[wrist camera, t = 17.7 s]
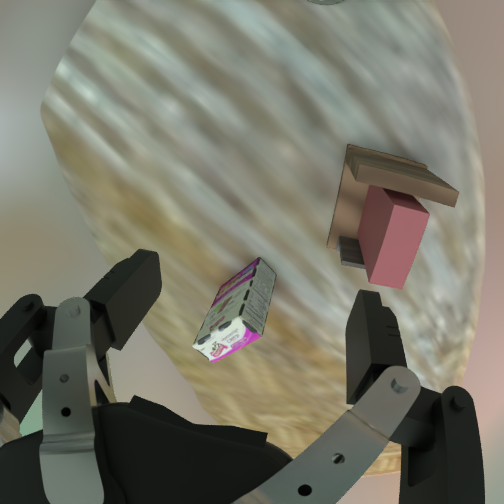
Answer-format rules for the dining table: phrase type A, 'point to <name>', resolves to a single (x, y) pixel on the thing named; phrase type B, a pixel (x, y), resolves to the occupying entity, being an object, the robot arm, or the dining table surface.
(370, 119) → the dining table surface
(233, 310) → the candy bar box
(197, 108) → the dining table surface
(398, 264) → the burgundy book
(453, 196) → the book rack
